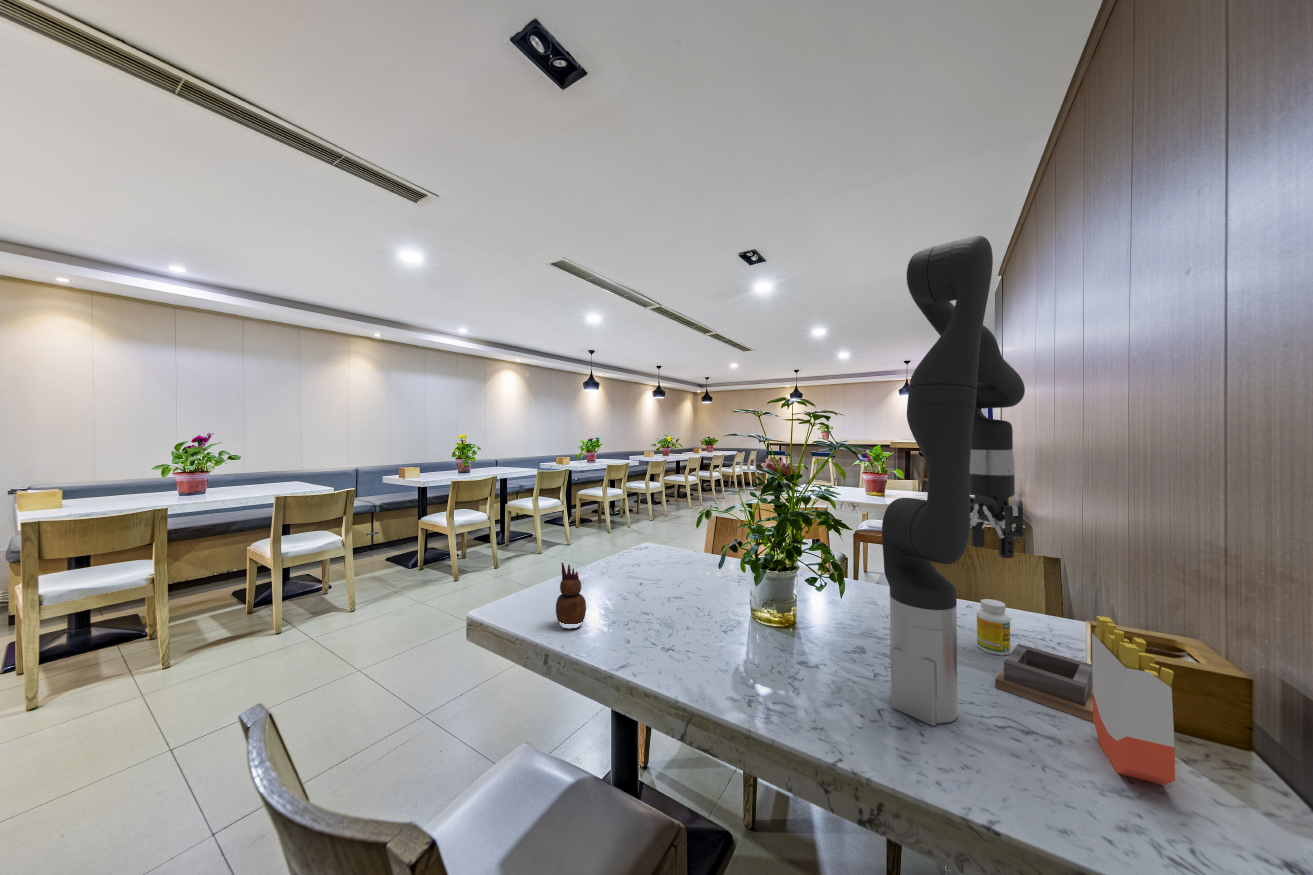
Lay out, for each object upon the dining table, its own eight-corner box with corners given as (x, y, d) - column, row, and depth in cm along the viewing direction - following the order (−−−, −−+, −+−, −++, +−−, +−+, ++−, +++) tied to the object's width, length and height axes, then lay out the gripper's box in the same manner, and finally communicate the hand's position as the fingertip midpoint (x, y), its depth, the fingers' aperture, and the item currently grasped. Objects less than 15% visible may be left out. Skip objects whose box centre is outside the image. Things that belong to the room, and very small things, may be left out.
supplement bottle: (980, 640, 92) (979, 595, 92) (1012, 649, 89) (1012, 602, 89) (974, 649, 89) (974, 602, 89) (1008, 659, 85) (1007, 609, 85)
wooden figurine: (551, 630, 100) (551, 564, 100) (564, 619, 106) (563, 557, 106) (578, 633, 98) (577, 566, 98) (589, 622, 104) (589, 559, 104)
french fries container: (1136, 745, 61) (1135, 616, 61) (1180, 802, 52) (1178, 650, 52) (1092, 734, 63) (1091, 610, 63) (1125, 787, 54) (1124, 642, 54)
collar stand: (1093, 721, 66) (1092, 692, 66) (995, 687, 75) (995, 661, 75) (1103, 691, 74) (1102, 665, 74) (1013, 663, 83) (1012, 640, 83)
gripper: (1037, 475, 81) (1038, 562, 81) (987, 469, 95) (987, 543, 96) (994, 475, 82) (995, 561, 82) (950, 469, 96) (951, 543, 96)
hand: (991, 551), depth 89 cm, fingers open, 8 cm apart
